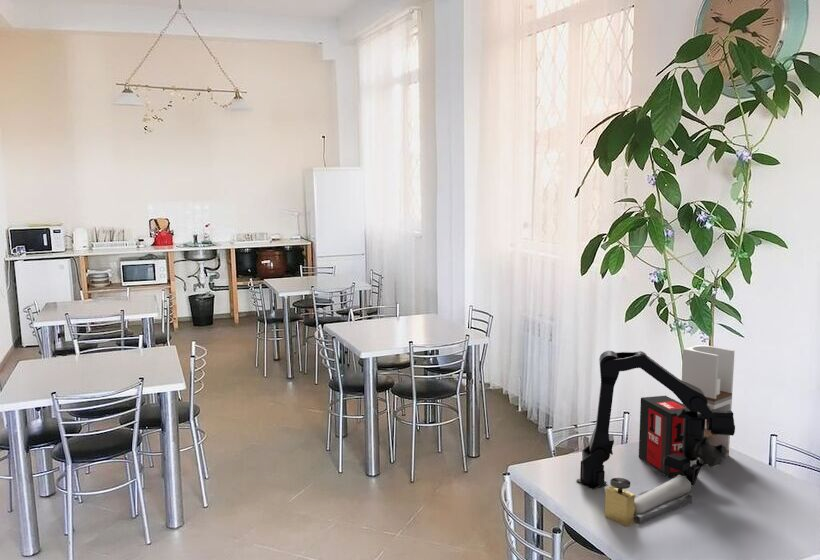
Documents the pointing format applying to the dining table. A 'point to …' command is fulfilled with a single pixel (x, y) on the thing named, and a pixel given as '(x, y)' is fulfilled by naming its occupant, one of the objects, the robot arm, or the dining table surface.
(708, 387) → the display case
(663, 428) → the cleaning product box
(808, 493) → the dining table surface
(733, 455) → the dining table surface
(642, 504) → the tube
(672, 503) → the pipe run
